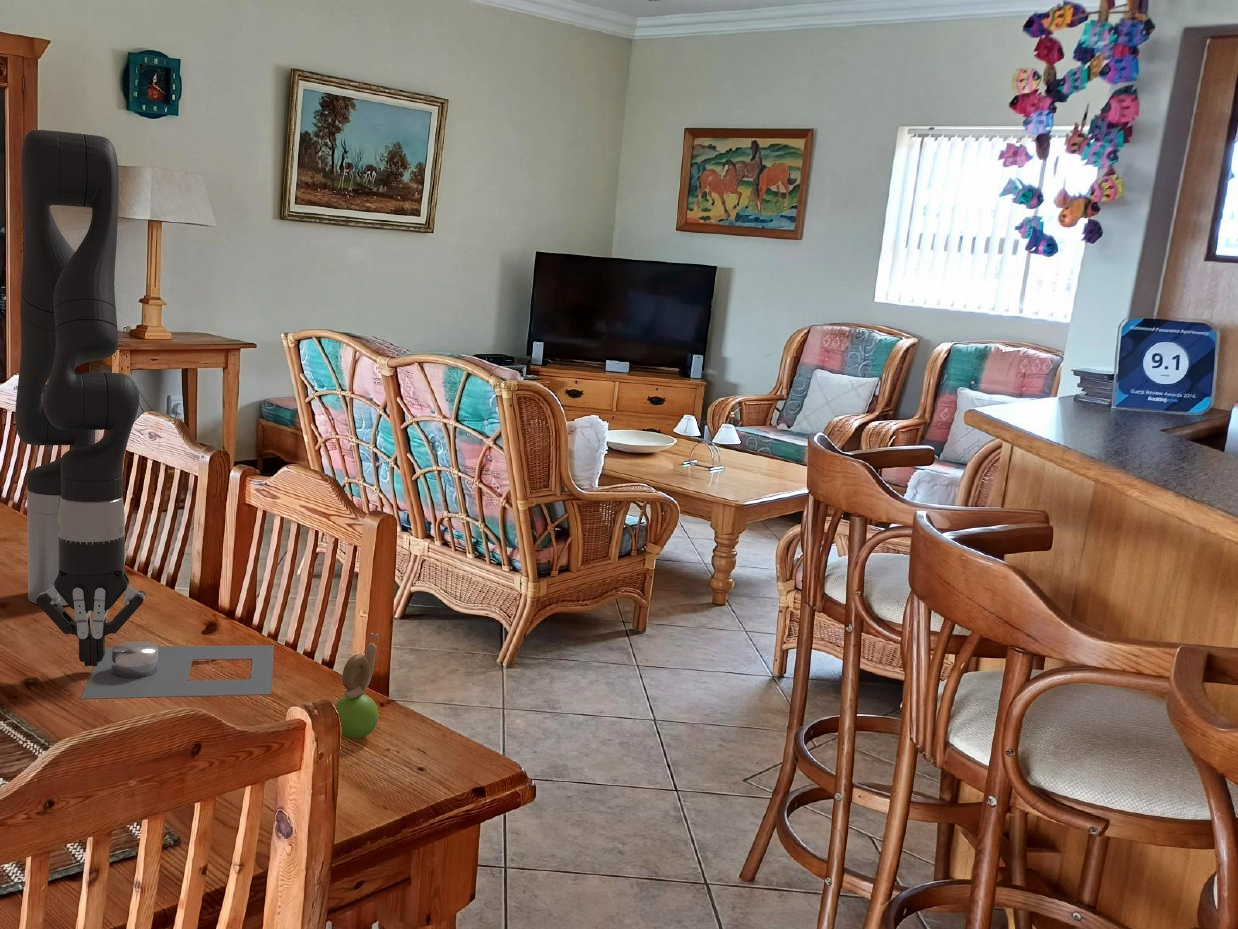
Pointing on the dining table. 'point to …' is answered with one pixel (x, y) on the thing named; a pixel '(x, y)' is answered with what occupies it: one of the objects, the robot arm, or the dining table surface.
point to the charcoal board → (184, 674)
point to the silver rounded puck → (134, 659)
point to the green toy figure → (358, 695)
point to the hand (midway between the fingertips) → (91, 664)
